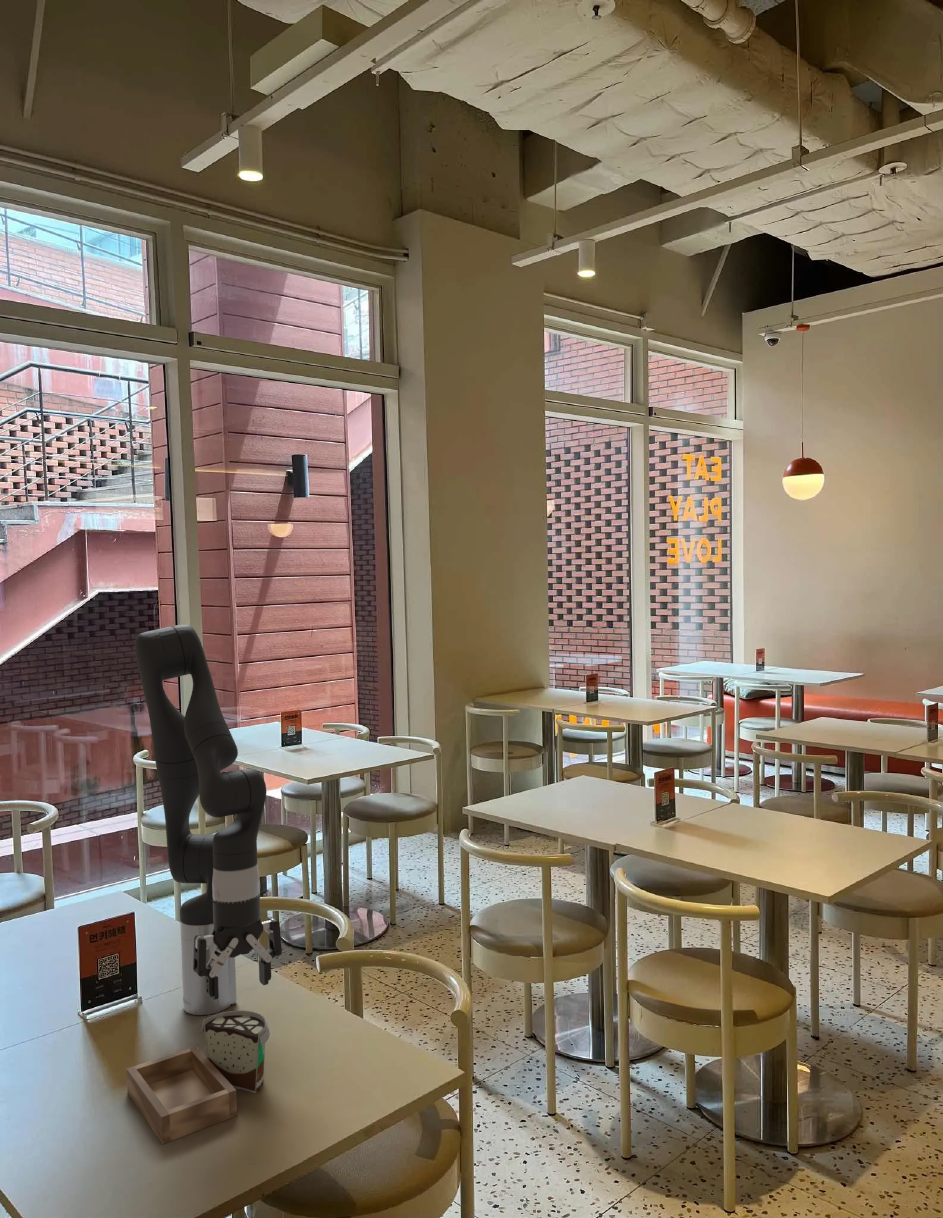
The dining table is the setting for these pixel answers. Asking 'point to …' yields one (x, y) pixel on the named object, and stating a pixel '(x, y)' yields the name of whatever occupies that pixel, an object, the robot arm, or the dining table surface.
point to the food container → (237, 1047)
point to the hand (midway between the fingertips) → (239, 990)
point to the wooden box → (181, 1094)
